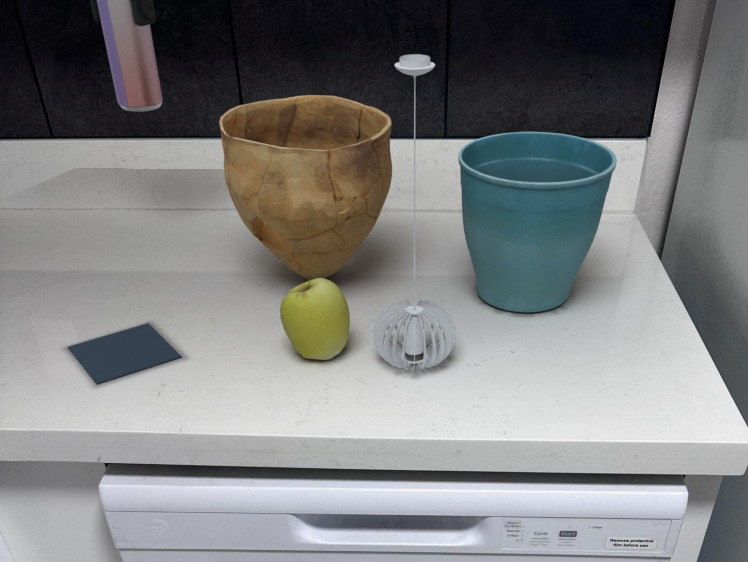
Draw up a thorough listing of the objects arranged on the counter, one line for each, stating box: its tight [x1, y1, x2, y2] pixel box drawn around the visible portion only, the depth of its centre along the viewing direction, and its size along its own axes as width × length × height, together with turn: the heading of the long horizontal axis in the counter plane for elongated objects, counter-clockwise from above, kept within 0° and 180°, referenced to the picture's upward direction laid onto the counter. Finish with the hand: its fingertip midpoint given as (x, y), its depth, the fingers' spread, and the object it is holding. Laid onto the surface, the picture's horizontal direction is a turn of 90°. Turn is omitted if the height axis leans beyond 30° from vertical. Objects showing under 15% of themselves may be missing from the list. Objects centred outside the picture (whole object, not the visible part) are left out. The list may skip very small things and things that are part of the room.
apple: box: [279, 276, 351, 361], centre depth 88 cm, size 8×8×10 cm
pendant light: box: [372, 53, 457, 371], centre depth 80 cm, size 9×9×30 cm
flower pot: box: [457, 131, 618, 313], centre depth 96 cm, size 18×18×17 cm
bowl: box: [218, 94, 393, 281], centre depth 99 cm, size 21×20×20 cm
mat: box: [67, 322, 183, 385], centre depth 92 cm, size 10×10×1 cm
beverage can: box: [97, 0, 164, 113], centre depth 103 cm, size 6×6×15 cm
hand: (125, 20), depth 101 cm, fingers closed on beverage can, 6 cm apart
